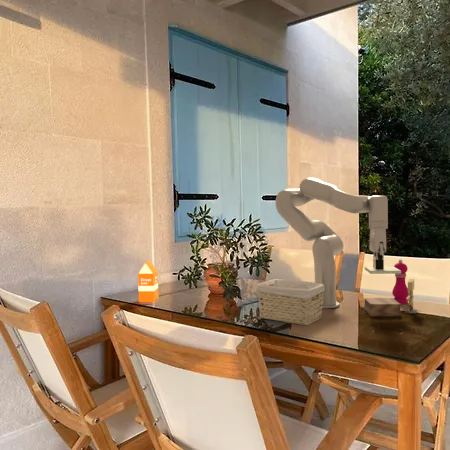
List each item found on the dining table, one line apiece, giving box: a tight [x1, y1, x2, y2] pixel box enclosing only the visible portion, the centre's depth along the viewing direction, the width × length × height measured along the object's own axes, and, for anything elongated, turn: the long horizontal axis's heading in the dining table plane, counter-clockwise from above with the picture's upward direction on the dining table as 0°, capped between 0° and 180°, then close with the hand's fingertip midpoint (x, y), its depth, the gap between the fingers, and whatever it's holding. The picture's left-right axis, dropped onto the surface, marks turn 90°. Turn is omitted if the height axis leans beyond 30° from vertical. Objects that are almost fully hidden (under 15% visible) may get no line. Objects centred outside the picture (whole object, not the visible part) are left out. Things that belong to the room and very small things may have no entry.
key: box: [407, 278, 415, 310], centre depth 194 cm, size 12×2×12 cm, turn 153°
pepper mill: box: [391, 259, 409, 305], centre depth 214 cm, size 7×7×20 cm
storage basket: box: [256, 278, 324, 326], centre depth 190 cm, size 24×16×15 cm
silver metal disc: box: [405, 308, 418, 315], centre depth 195 cm, size 4×4×1 cm
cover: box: [364, 256, 401, 275], centre depth 195 cm, size 12×12×6 cm
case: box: [363, 297, 402, 317], centre depth 196 cm, size 12×12×5 cm
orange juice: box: [137, 260, 159, 303], centre depth 229 cm, size 8×9×20 cm
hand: (378, 268), depth 195 cm, fingers closed on cover, 3 cm apart
